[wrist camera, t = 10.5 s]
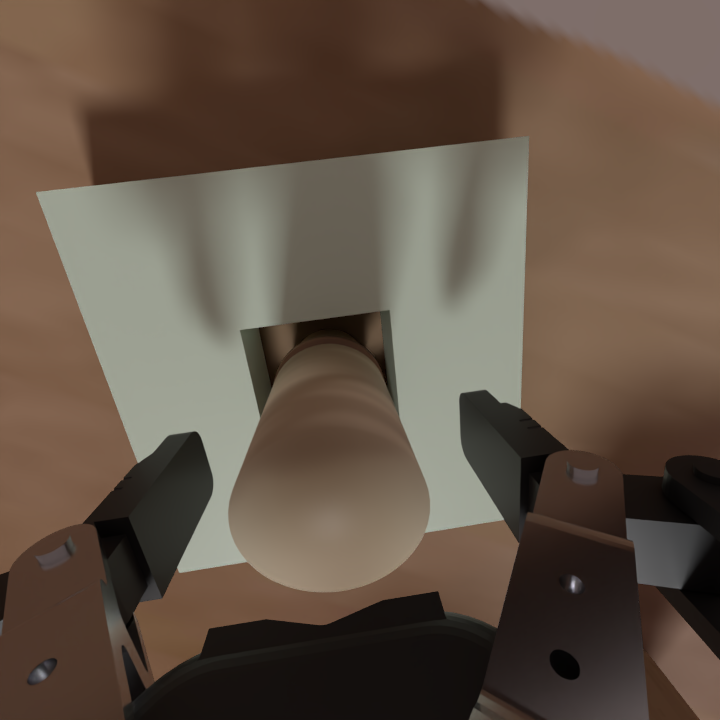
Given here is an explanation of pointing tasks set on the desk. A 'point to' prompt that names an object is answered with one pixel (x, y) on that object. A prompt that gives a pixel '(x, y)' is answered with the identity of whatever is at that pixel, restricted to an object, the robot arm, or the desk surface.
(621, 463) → the desk surface
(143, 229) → the seat board
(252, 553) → the peg
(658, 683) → the wooden block
